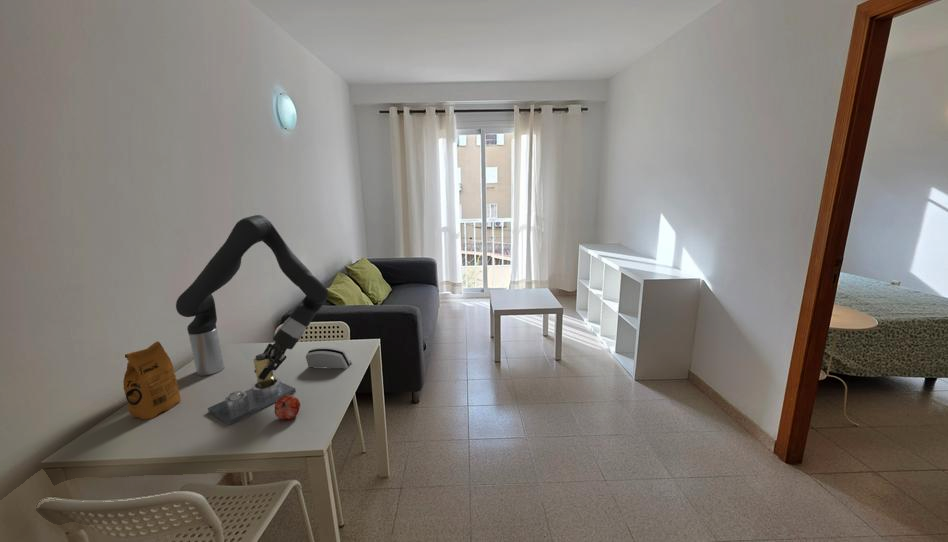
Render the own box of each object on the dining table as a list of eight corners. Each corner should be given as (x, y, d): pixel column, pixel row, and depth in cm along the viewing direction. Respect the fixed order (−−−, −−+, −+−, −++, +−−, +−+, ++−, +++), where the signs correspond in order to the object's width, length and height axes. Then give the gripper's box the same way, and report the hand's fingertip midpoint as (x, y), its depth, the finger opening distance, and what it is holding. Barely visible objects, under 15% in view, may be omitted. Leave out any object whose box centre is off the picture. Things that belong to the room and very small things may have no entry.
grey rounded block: (353, 363, 158) (346, 344, 152) (348, 371, 154) (341, 353, 148) (314, 362, 160) (307, 344, 155) (309, 370, 156) (301, 352, 151)
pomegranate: (280, 419, 125) (263, 416, 116) (288, 395, 128) (272, 391, 119) (302, 422, 124) (287, 420, 115) (309, 398, 127) (294, 394, 118)
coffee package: (125, 418, 125) (108, 355, 120) (163, 398, 137) (149, 339, 132) (148, 422, 122) (132, 357, 118) (186, 400, 134) (172, 341, 129)
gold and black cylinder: (255, 386, 134) (250, 357, 132) (269, 380, 138) (264, 351, 136) (263, 389, 131) (258, 360, 129) (277, 383, 135) (272, 354, 133)
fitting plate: (208, 412, 126) (205, 397, 125) (273, 382, 144) (271, 369, 143) (229, 425, 119) (226, 409, 118) (295, 392, 137) (293, 377, 135)
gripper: (275, 323, 141) (243, 365, 136) (287, 333, 130) (254, 378, 125) (292, 332, 145) (262, 373, 140) (306, 343, 135) (274, 387, 130)
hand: (258, 375), depth 133 cm, fingers closed on gold and black cylinder, 5 cm apart
